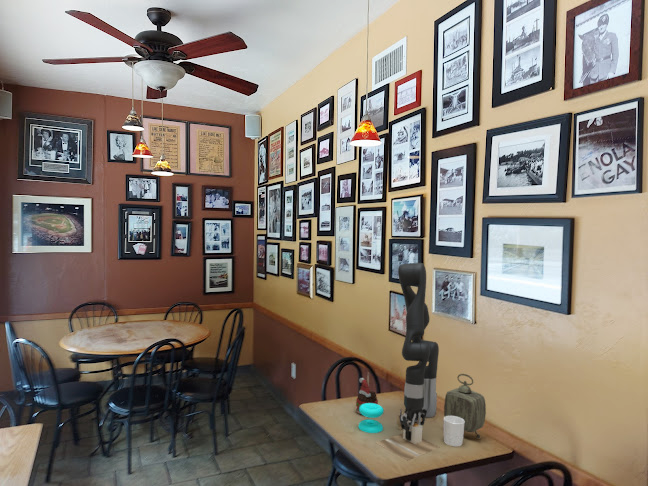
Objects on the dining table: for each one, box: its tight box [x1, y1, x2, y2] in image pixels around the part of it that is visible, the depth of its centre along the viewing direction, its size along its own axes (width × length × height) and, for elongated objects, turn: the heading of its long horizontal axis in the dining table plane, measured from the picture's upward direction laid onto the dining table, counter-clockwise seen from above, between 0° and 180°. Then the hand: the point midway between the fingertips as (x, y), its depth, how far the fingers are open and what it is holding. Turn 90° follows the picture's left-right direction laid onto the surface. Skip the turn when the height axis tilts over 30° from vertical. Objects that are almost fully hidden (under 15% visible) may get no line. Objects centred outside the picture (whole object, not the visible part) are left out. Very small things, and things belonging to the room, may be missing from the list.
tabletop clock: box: [443, 373, 487, 439], centre depth 179 cm, size 14×9×25 cm, turn 43°
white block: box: [402, 420, 423, 444], centre depth 170 cm, size 4×6×7 cm, turn 38°
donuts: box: [358, 403, 385, 434], centre depth 180 cm, size 10×10×10 cm
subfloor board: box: [375, 433, 440, 461], centre depth 166 cm, size 18×16×1 cm
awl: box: [396, 408, 403, 431], centre depth 181 cm, size 3×3×9 cm
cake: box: [355, 372, 379, 415], centre depth 199 cm, size 11×9×18 cm
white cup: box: [442, 416, 465, 447], centre depth 170 cm, size 8×8×10 cm
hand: (412, 438), depth 170 cm, fingers closed on white block, 4 cm apart
